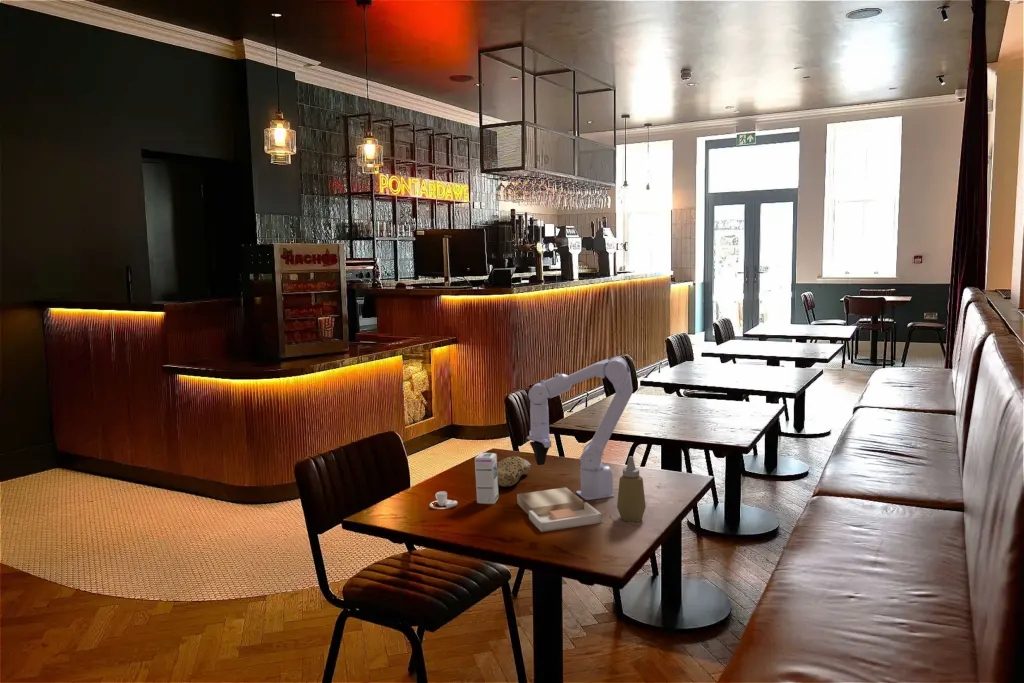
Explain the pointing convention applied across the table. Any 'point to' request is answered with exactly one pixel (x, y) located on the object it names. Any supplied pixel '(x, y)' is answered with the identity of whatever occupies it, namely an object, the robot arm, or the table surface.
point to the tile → (562, 514)
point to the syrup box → (486, 478)
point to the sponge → (511, 470)
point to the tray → (567, 519)
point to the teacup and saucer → (443, 500)
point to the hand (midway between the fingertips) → (540, 464)
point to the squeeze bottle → (631, 493)
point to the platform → (549, 501)
